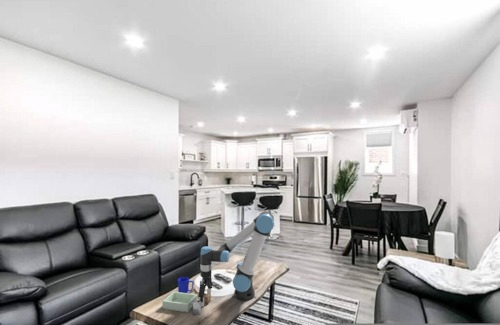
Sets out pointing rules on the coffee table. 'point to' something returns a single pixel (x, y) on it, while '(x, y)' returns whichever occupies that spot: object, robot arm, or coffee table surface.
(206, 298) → the walnut block
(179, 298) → the tote
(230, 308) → the coffee table surface
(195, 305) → the canister
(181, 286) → the mug
